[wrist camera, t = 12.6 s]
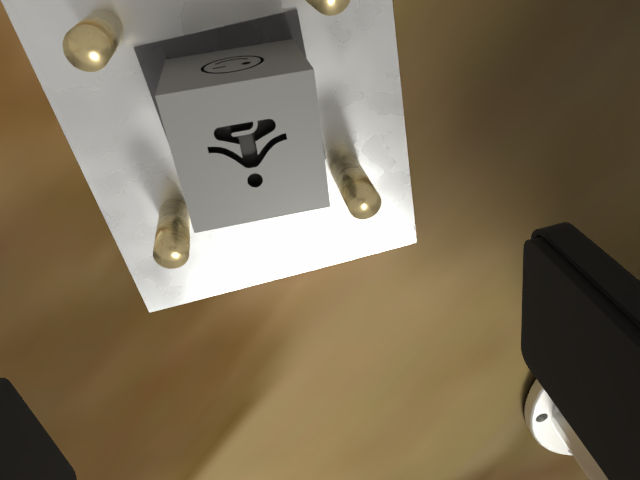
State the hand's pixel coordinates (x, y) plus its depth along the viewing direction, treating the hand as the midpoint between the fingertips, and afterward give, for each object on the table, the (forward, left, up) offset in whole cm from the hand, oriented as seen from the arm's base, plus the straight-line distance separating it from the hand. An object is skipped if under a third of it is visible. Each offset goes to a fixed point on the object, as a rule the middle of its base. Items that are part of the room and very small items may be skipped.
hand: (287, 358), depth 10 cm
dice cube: (0, 0, -15) cm, 15 cm away
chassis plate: (0, 0, -16) cm, 16 cm away
